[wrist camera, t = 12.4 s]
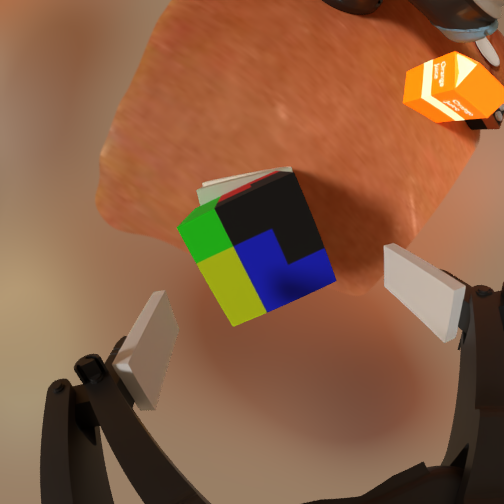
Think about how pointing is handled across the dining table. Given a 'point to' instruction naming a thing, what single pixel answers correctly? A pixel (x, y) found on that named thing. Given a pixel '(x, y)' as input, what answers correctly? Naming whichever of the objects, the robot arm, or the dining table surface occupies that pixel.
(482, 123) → the battery
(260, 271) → the puzzle toy
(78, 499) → the robot arm
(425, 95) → the orange juice
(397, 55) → the dining table surface
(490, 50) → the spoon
